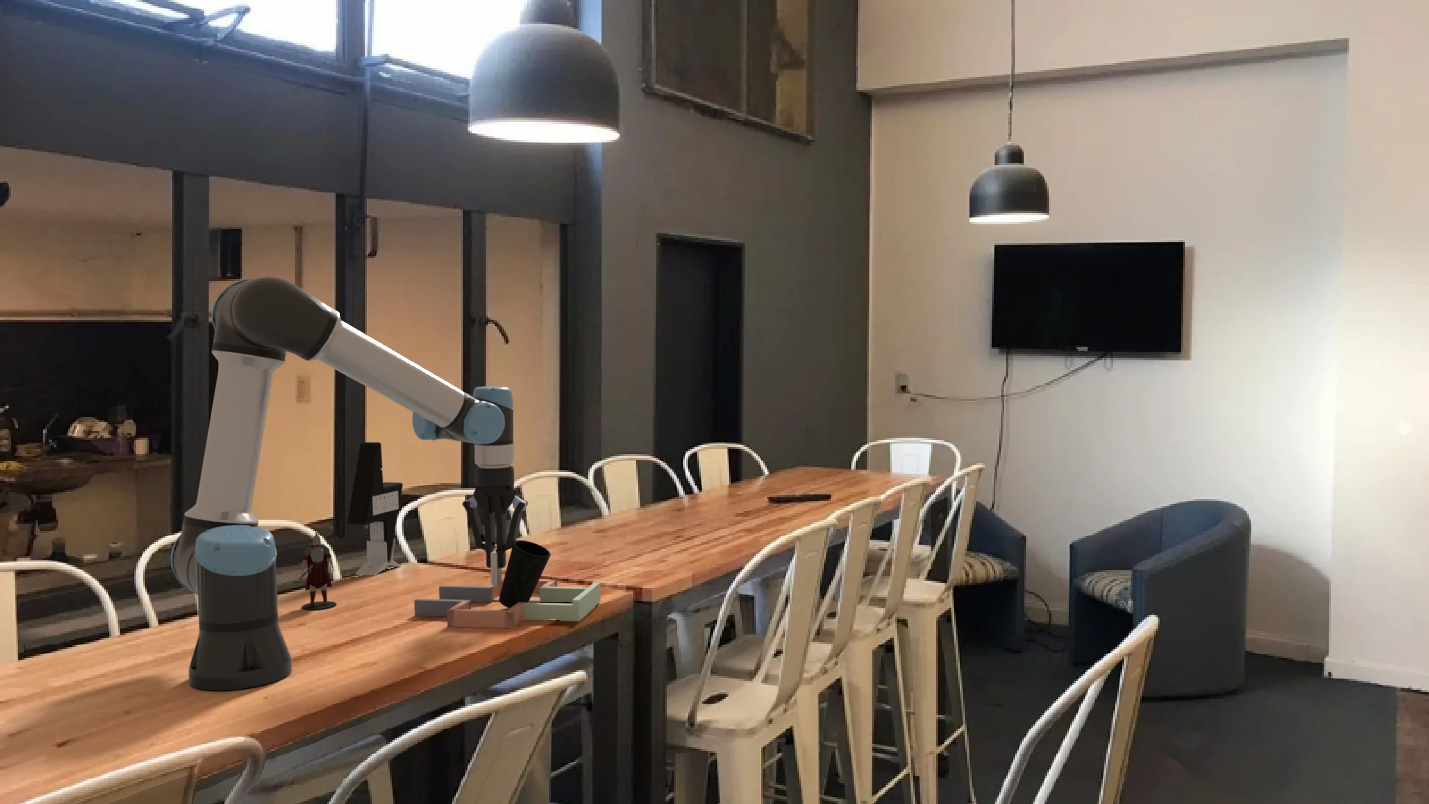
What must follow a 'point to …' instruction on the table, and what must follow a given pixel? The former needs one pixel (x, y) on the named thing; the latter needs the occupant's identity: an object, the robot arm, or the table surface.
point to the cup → (523, 572)
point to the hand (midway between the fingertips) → (496, 583)
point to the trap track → (459, 611)
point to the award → (375, 508)
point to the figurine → (317, 574)
